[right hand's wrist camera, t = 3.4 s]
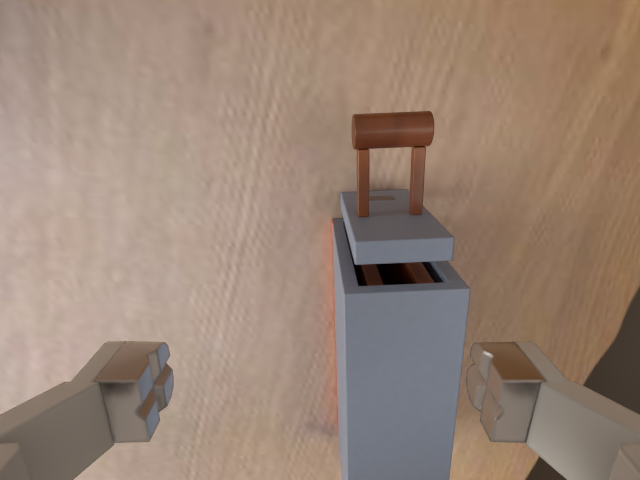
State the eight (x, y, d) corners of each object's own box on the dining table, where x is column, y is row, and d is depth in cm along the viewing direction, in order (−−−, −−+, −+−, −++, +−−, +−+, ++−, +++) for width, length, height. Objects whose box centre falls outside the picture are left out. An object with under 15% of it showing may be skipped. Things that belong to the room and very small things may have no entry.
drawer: (338, 109, 25) (353, 119, 16) (410, 106, 25) (466, 114, 16) (344, 406, 33) (356, 521, 24) (398, 404, 33) (429, 517, 24)
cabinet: (331, 218, 28) (343, 294, 18) (411, 215, 28) (471, 288, 18) (338, 427, 35) (349, 570, 25) (401, 424, 35) (439, 566, 25)
